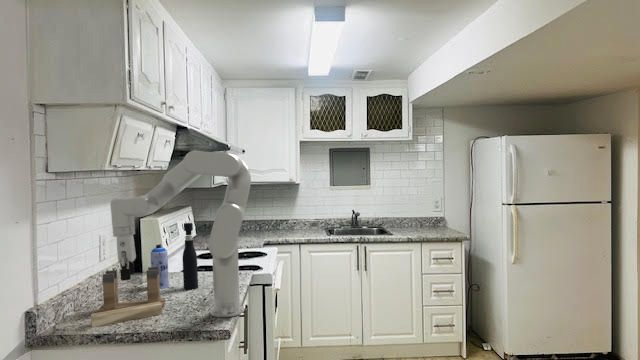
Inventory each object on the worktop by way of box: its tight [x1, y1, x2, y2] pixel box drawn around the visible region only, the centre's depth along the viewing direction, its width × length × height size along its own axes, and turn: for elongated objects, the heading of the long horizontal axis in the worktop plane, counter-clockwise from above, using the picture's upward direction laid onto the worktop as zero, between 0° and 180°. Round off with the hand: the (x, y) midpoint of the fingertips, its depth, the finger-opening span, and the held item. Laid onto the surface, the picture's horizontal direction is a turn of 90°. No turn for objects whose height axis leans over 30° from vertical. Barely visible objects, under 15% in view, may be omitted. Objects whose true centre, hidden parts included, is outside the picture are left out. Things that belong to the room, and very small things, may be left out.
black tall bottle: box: [182, 222, 199, 291], centre depth 207 cm, size 6×6×30 cm
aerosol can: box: [150, 243, 170, 290], centre depth 211 cm, size 8×8×20 cm
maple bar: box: [90, 302, 163, 328], centre depth 167 cm, size 4×24×4 cm, turn 122°
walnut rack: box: [97, 266, 166, 313], centre depth 180 cm, size 8×24×15 cm, turn 105°
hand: (128, 277), depth 166 cm, fingers open, 9 cm apart
